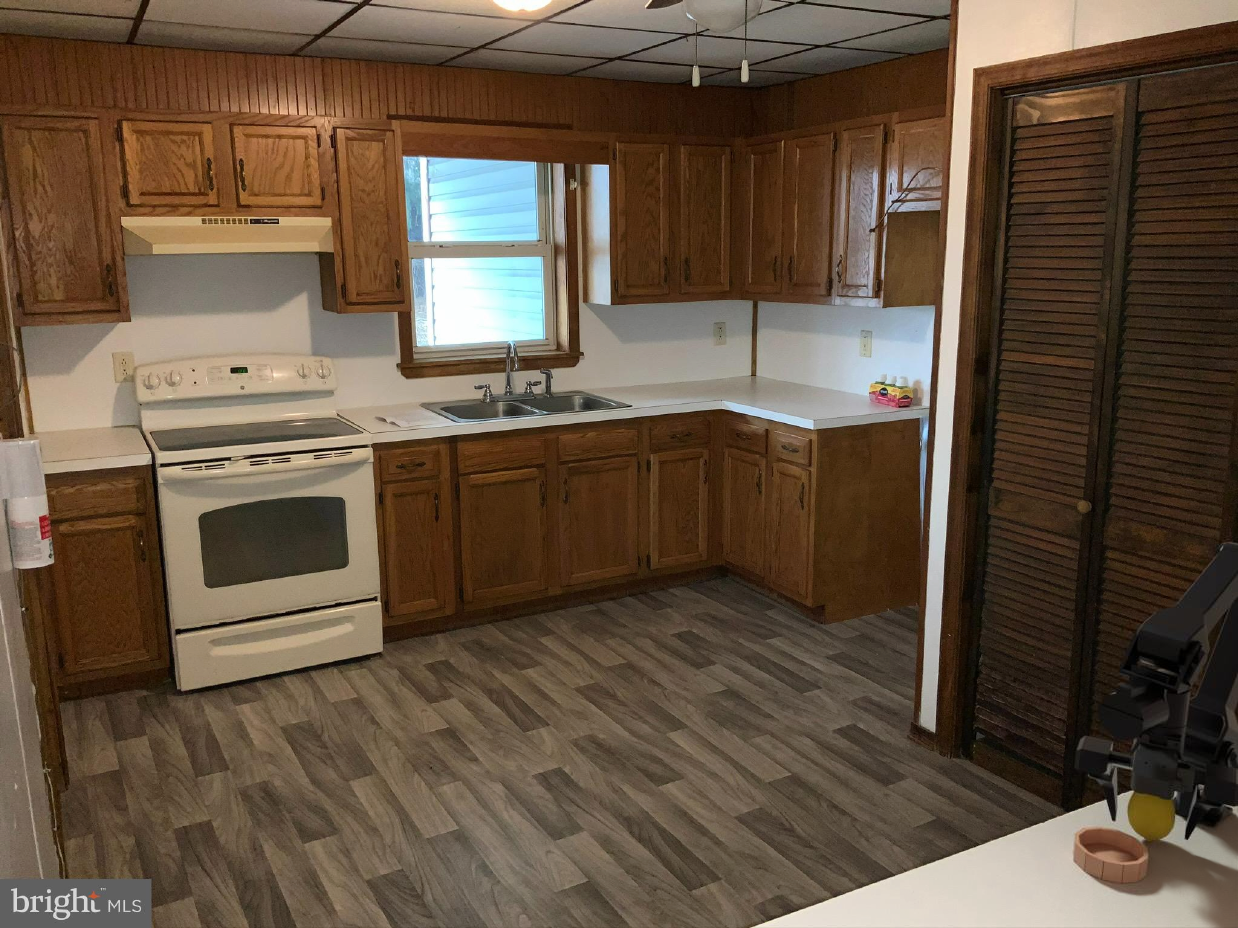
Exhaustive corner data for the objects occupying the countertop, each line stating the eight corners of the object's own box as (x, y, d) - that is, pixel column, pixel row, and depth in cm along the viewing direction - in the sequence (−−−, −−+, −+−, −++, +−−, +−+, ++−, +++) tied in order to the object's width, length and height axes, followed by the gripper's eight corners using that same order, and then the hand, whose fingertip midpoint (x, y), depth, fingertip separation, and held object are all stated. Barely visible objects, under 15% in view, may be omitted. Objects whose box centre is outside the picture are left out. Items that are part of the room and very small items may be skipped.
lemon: (1178, 854, 129) (1184, 797, 127) (1131, 850, 130) (1137, 793, 128) (1164, 831, 134) (1170, 776, 133) (1119, 827, 135) (1125, 772, 134)
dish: (1092, 837, 133) (1094, 819, 132) (1157, 865, 127) (1159, 847, 126) (1060, 859, 128) (1062, 842, 127) (1126, 890, 122) (1128, 872, 121)
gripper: (1073, 725, 127) (1063, 837, 130) (1246, 762, 117) (1231, 882, 120) (1085, 694, 136) (1075, 799, 139) (1246, 725, 127) (1232, 838, 130)
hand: (1149, 828), depth 132 cm, fingers open, 8 cm apart
